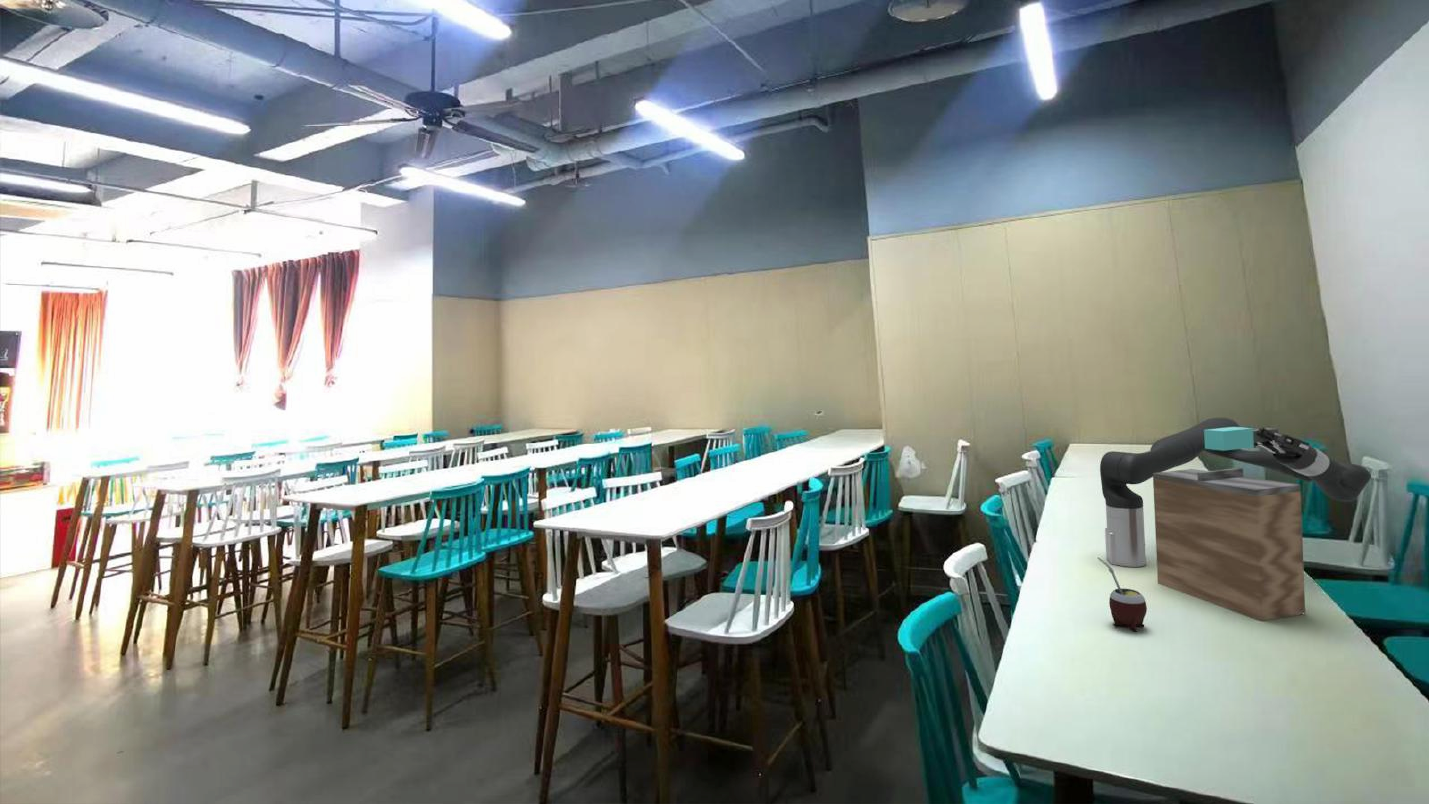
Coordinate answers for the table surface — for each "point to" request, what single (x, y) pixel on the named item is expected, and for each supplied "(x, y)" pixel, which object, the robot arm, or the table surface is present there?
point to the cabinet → (1231, 540)
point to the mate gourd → (1126, 606)
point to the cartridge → (1233, 438)
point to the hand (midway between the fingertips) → (1252, 430)
